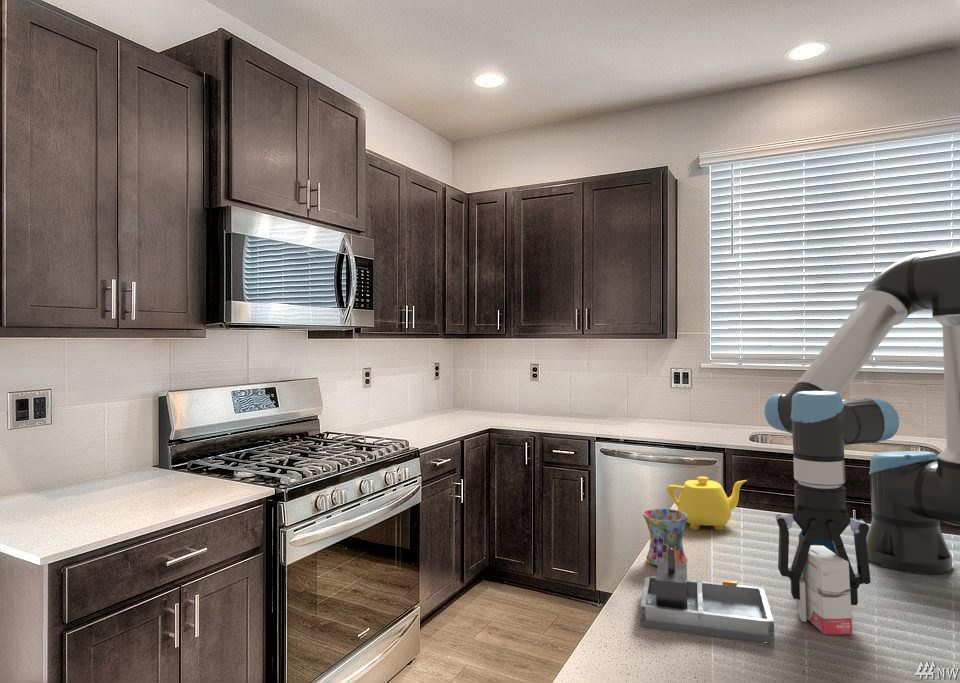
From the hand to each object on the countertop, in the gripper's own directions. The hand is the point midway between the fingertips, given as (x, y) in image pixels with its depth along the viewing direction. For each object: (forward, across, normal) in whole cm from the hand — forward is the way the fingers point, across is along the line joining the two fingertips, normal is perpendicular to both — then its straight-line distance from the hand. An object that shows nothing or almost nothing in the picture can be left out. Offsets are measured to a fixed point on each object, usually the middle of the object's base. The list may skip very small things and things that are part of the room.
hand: (824, 620), depth 97 cm
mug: (+1, +26, -22) cm, 34 cm away
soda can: (+1, -2, -13) cm, 13 cm away
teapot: (+1, +17, -51) cm, 54 cm away
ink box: (+1, 0, 0) cm, 1 cm away
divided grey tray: (0, +19, +3) cm, 19 cm away
